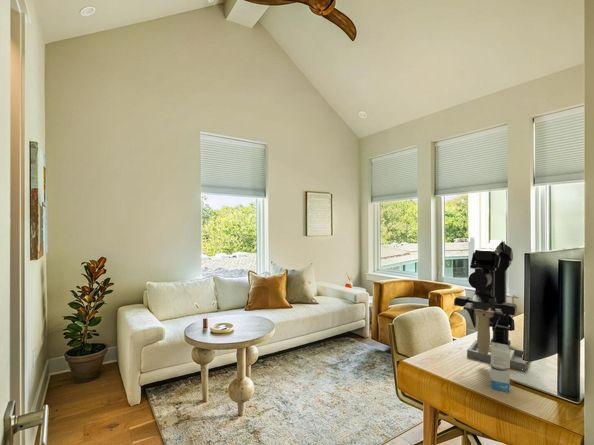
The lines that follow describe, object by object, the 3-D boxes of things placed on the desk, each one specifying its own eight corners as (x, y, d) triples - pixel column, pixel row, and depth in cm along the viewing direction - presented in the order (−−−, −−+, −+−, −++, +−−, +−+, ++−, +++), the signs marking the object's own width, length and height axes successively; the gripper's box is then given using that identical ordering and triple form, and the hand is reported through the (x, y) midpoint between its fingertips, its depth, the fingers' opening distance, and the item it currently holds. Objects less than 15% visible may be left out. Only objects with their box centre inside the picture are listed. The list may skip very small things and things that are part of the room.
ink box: (509, 393, 99) (510, 353, 99) (490, 388, 102) (491, 350, 101) (507, 381, 107) (508, 344, 106) (489, 377, 109) (490, 341, 109)
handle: (493, 357, 114) (494, 313, 114) (472, 353, 118) (473, 310, 117) (493, 352, 118) (495, 310, 118) (473, 348, 122) (474, 307, 122)
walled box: (475, 346, 136) (475, 339, 136) (529, 358, 125) (529, 351, 125) (467, 356, 125) (467, 349, 125) (524, 371, 114) (525, 363, 114)
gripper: (450, 284, 117) (449, 328, 118) (513, 292, 106) (511, 342, 106) (458, 280, 126) (457, 321, 126) (517, 287, 114) (516, 333, 114)
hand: (483, 329), depth 118 cm, fingers closed on handle, 5 cm apart
